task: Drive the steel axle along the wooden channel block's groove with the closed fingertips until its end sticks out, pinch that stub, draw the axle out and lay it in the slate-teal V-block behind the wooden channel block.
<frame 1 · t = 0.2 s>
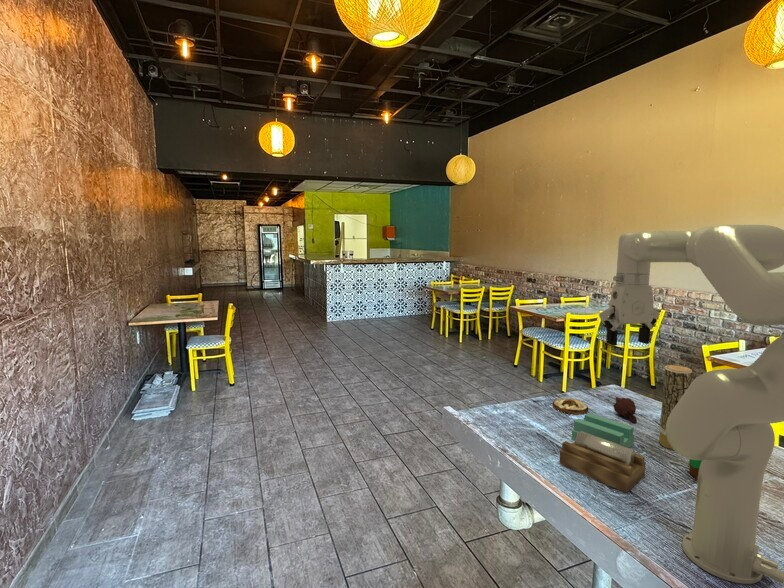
hand: (627, 343, 110), 36 cm above the table, tool pointing down, fingers open, 9 cm apart
storage jar: (677, 433, 137), on the table
axle: (603, 457, 114), point 4 cm above the table, touching wooden channel block
food container: (697, 475, 112), on the table
tan round flat disc: (569, 409, 157), on the table
wooden channel block: (600, 469, 115), on the table
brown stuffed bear: (624, 416, 151), on the table
v block: (602, 441, 131), on the table
bark patterned canister: (671, 446, 128), on the table
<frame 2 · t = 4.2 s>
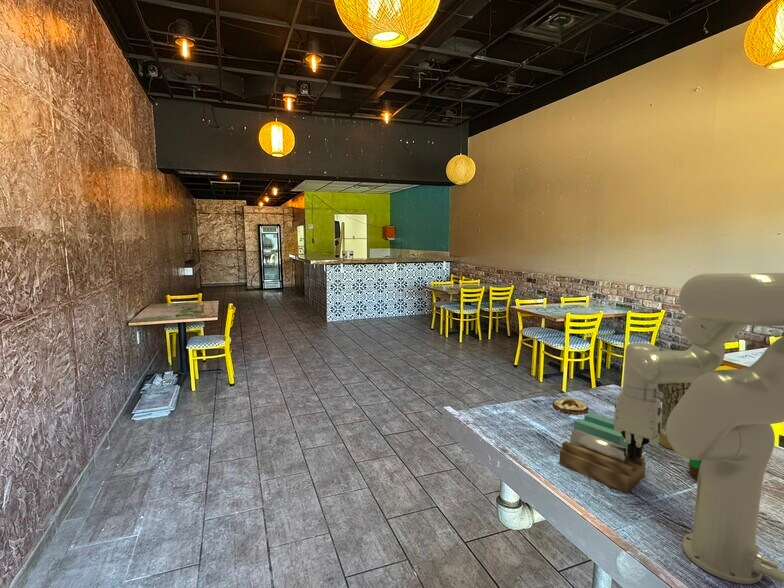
hand: (634, 458, 108), 7 cm above the table, tool pointing down, fingers closed
axle: (598, 455, 115), point 4 cm above the table, touching gripper
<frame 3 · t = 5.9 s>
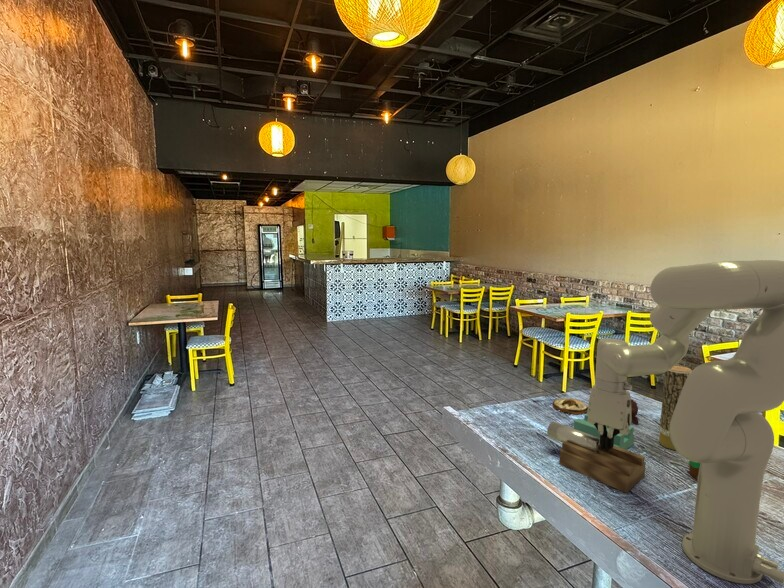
hand: (606, 448, 113), 7 cm above the table, tool pointing down, fingers closed
axle: (573, 445, 120), point 4 cm above the table, touching wooden channel block, gripper
everything else where it was.
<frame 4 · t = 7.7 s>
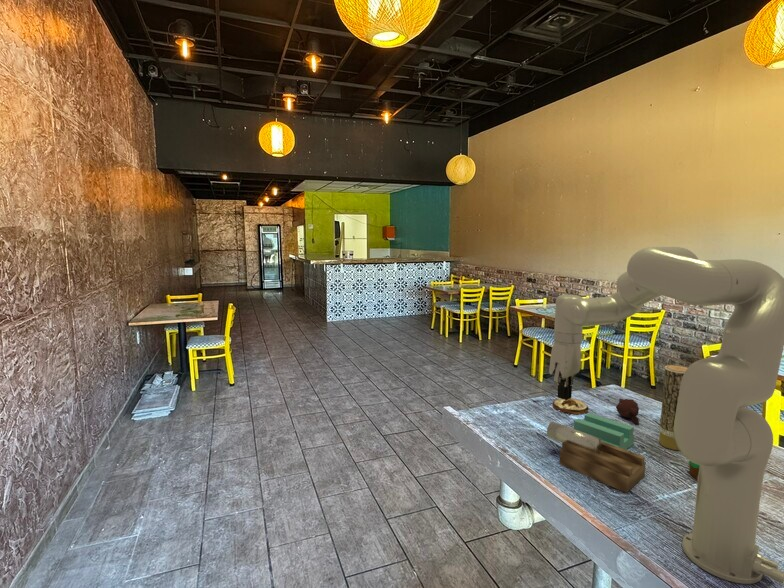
hand: (564, 397, 121), 18 cm above the table, tool pointing down, fingers closed
axle: (573, 445, 120), point 4 cm above the table, tilted 8°, touching wooden channel block
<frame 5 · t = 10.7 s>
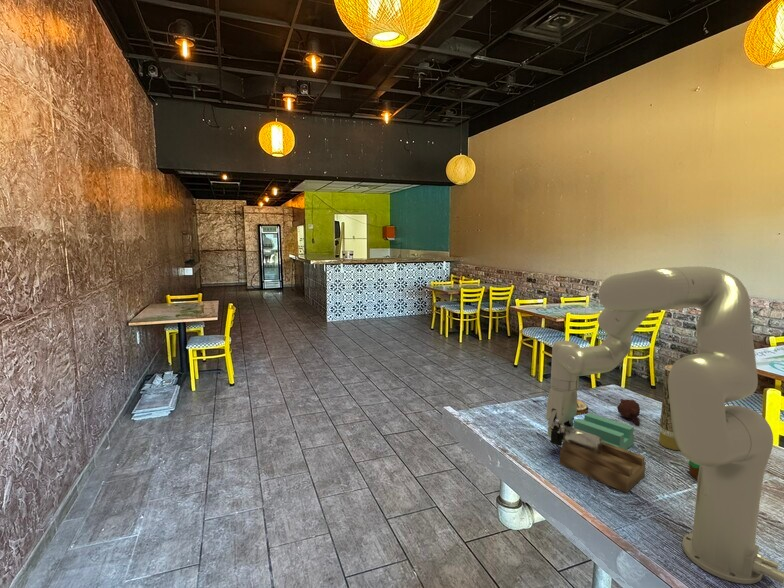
hand: (561, 440, 123), 4 cm above the table, tool pointing down, fingers closed on axle, 5 cm apart
axle: (573, 445, 120), point 4 cm above the table, touching wooden channel block, gripper
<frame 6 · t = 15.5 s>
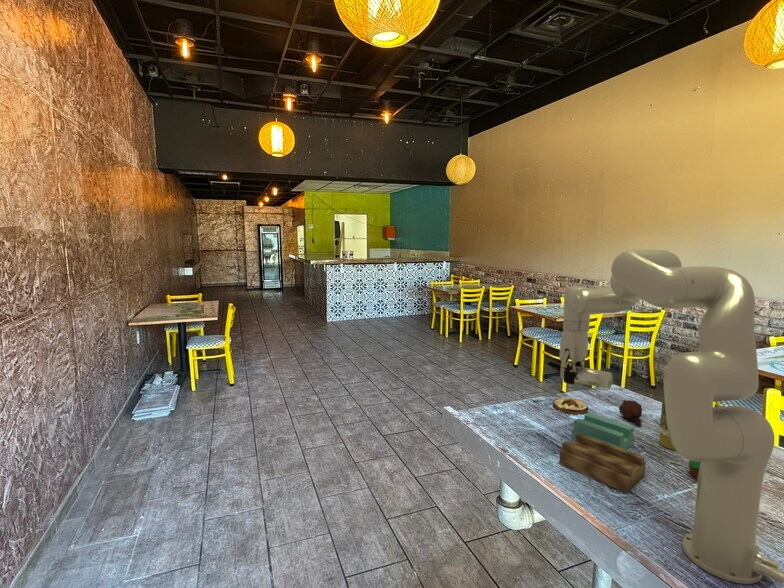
hand: (573, 380, 131), 19 cm above the table, tool pointing down, fingers closed on axle, 5 cm apart
axle: (585, 383, 128), point 19 cm above the table, tilted 5°, touching gripper
when the fingers open (7 cm above the table, at t = 18.7 s): axle drops 2 cm, resting on v block.
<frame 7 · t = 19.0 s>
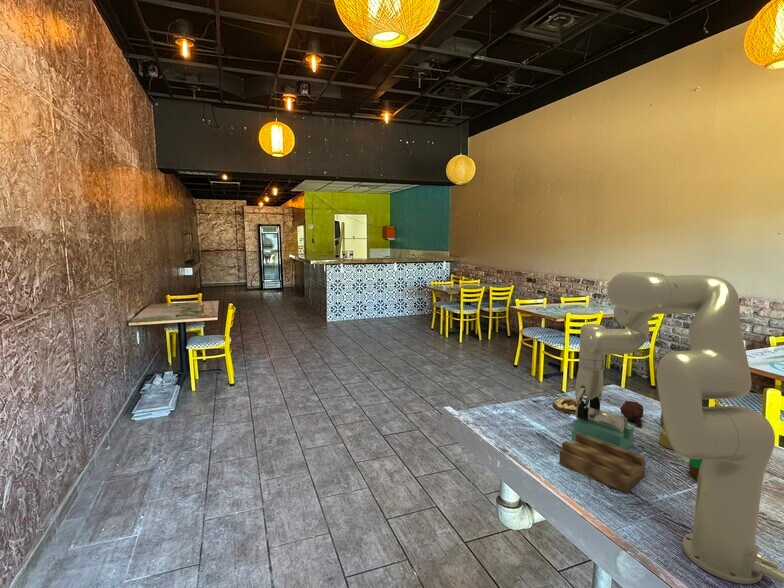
hand: (588, 415, 133), 7 cm above the table, tool pointing down, fingers open, 7 cm apart
axle: (599, 426, 130), point 5 cm above the table, tilted 8°, touching v block
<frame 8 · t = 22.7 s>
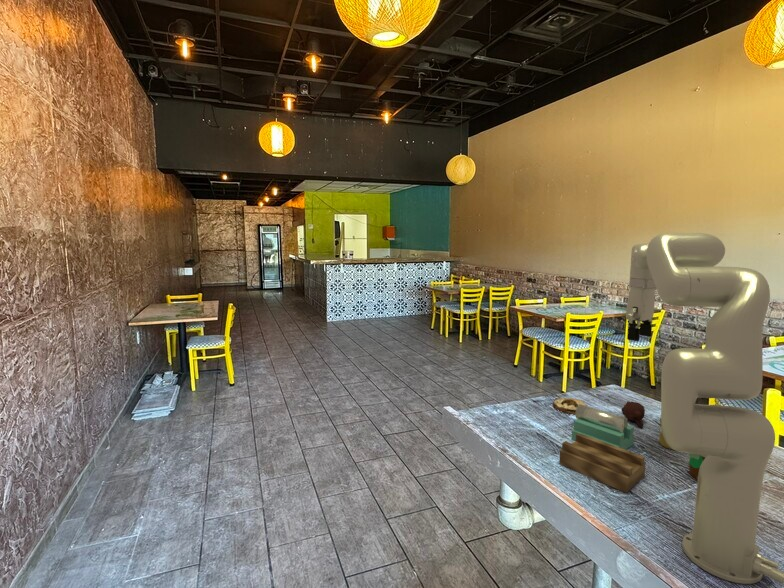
hand: (639, 338, 129), 33 cm above the table, tool pointing down, fingers open, 9 cm apart
at the end: axle 0.9 cm off-centre on the v block, point 5.0 cm above the v block's base; axle touching v block; the gripper is holding nothing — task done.
